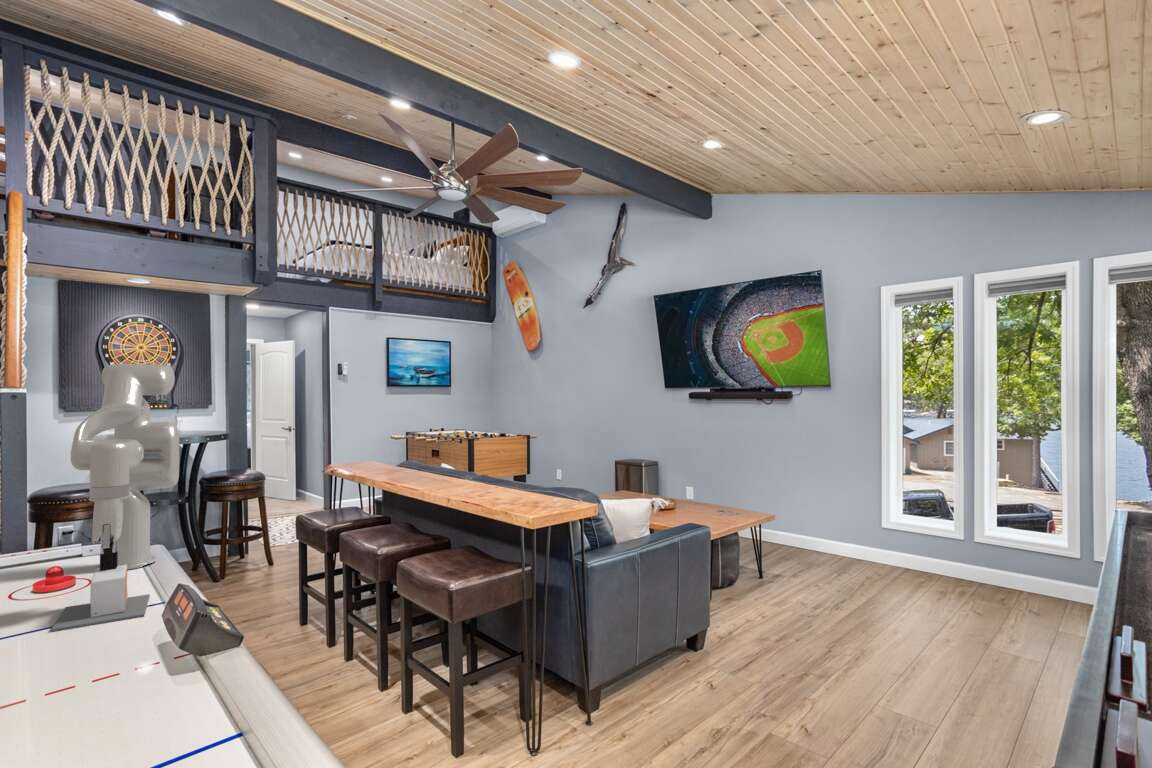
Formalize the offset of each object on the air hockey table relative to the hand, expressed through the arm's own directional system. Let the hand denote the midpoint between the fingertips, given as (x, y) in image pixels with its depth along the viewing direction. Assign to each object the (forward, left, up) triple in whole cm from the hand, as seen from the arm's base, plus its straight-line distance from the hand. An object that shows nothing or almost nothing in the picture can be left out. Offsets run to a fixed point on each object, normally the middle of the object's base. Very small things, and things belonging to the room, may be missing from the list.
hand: (108, 569), depth 141 cm
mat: (+6, 0, -9) cm, 11 cm away
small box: (-3, 0, -4) cm, 5 cm away
